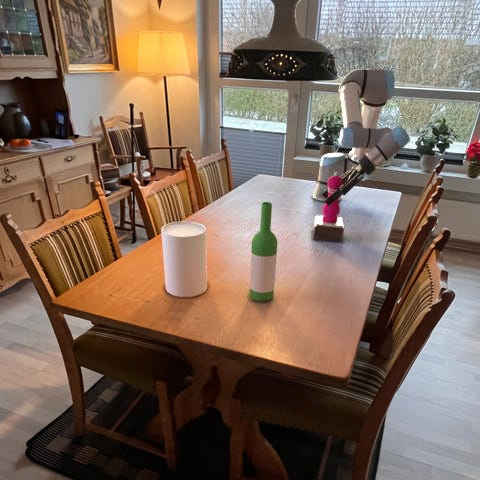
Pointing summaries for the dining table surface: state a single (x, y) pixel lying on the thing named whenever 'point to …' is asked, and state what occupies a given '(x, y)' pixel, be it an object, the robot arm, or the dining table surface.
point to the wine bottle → (263, 258)
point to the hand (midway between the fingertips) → (324, 199)
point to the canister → (185, 258)
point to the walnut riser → (328, 230)
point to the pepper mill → (334, 208)
